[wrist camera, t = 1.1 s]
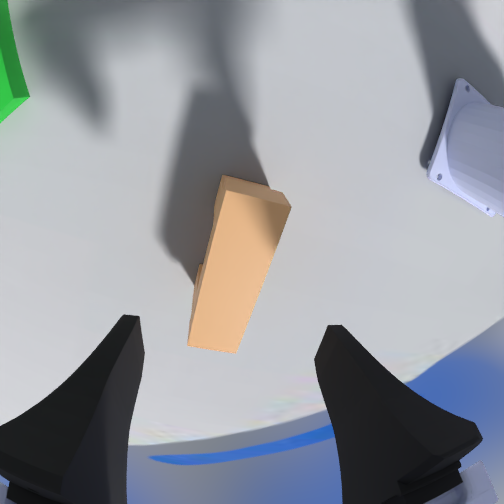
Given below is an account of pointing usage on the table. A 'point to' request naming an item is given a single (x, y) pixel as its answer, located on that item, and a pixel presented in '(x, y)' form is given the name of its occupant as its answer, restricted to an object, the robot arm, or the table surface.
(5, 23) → the mechanical part
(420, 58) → the table surface
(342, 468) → the robot arm
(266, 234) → the tan wooden block
